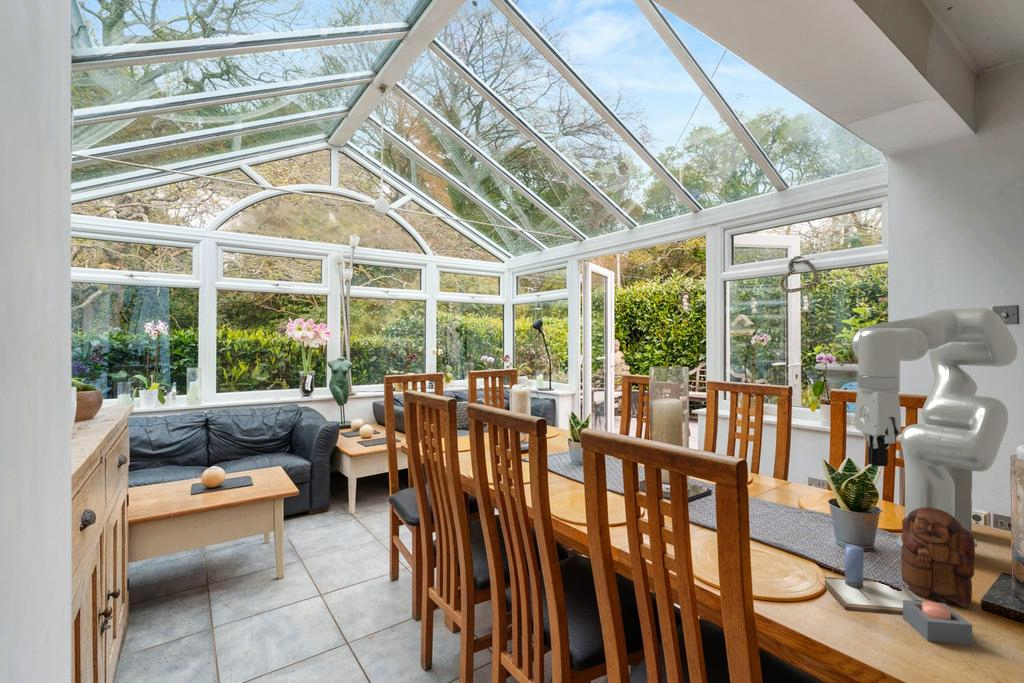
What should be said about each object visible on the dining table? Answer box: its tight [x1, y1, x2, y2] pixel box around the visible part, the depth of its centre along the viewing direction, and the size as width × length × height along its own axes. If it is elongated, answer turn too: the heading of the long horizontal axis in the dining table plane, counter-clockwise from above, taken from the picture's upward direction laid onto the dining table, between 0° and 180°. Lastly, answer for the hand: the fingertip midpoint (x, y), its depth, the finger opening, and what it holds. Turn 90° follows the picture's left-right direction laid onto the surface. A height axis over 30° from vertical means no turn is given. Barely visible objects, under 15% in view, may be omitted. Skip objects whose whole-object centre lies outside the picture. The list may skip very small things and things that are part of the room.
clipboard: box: [824, 576, 923, 615], centre depth 101 cm, size 16×12×1 cm
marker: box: [844, 544, 865, 589], centre depth 105 cm, size 3×3×8 cm
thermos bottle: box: [944, 466, 973, 534], centre depth 134 cm, size 8×8×28 cm
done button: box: [922, 600, 951, 620], centre depth 90 cm, size 4×4×4 cm
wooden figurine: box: [900, 507, 976, 609], centre depth 102 cm, size 12×6×18 cm, turn 44°
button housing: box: [902, 600, 973, 646], centre depth 90 cm, size 7×7×4 cm
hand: (877, 464), depth 110 cm, fingers closed
